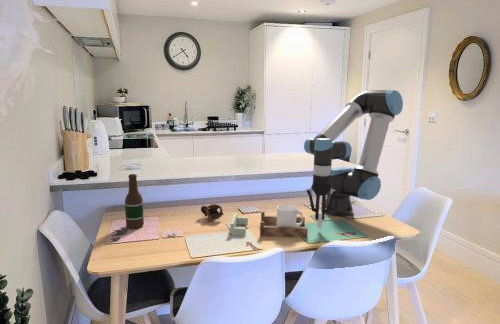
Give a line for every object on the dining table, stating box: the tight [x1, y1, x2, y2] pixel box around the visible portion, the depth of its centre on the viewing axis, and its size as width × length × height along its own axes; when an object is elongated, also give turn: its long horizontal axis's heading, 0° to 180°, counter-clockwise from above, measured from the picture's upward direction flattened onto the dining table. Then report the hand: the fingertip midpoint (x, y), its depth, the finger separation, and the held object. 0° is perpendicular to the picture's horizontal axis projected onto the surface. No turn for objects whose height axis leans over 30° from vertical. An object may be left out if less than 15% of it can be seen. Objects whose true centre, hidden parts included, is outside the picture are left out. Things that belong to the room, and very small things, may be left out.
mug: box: [276, 204, 304, 227], centre depth 158 cm, size 9×12×11 cm
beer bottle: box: [124, 173, 145, 230], centre depth 160 cm, size 8×8×24 cm
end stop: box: [229, 212, 249, 236], centre depth 160 cm, size 6×15×5 cm, turn 176°
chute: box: [259, 210, 309, 238], centre depth 159 cm, size 20×15×6 cm
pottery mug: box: [200, 203, 224, 223], centre depth 173 cm, size 12×10×8 cm
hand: (319, 226), depth 158 cm, fingers closed
